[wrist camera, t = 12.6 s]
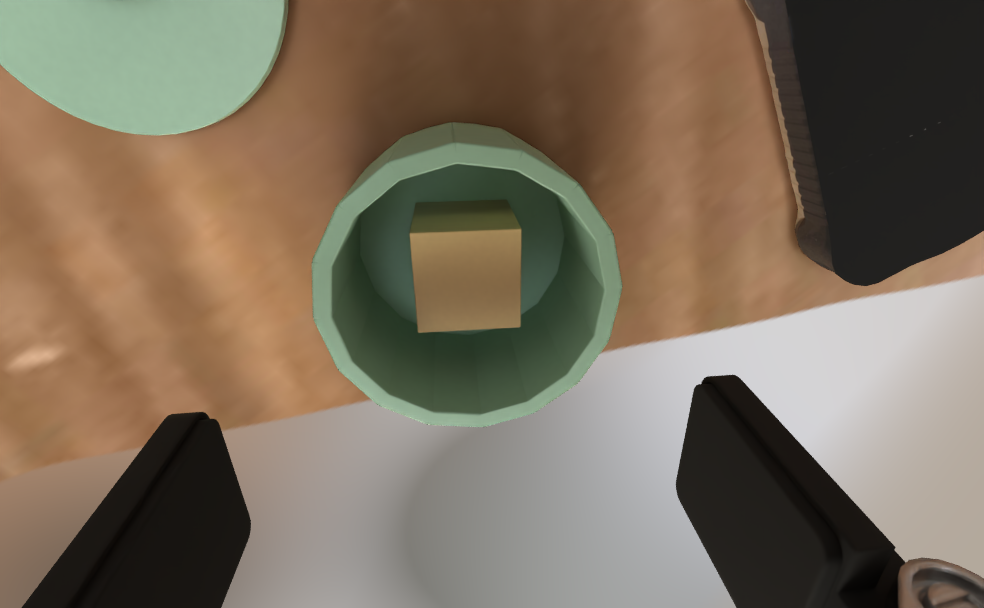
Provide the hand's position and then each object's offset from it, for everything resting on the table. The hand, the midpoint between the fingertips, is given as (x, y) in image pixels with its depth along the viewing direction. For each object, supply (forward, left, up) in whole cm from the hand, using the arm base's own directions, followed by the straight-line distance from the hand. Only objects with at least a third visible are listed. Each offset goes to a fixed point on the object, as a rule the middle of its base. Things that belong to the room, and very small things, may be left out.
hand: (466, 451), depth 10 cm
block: (0, +1, -16) cm, 16 cm away
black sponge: (-19, +7, -17) cm, 26 cm away
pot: (0, +1, -17) cm, 17 cm away
